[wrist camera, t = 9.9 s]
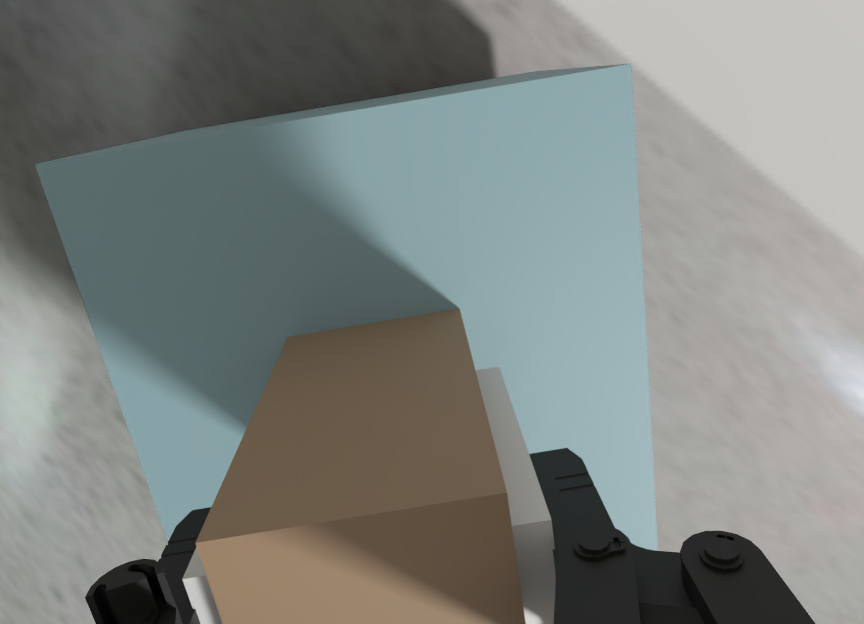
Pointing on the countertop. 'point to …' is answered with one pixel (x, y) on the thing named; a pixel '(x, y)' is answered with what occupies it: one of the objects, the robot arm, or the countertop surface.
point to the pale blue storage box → (372, 334)
